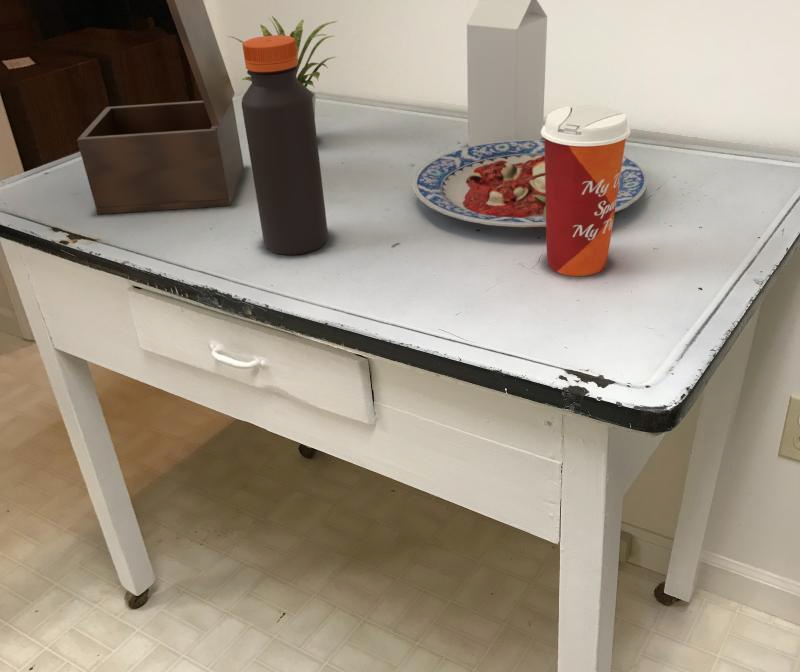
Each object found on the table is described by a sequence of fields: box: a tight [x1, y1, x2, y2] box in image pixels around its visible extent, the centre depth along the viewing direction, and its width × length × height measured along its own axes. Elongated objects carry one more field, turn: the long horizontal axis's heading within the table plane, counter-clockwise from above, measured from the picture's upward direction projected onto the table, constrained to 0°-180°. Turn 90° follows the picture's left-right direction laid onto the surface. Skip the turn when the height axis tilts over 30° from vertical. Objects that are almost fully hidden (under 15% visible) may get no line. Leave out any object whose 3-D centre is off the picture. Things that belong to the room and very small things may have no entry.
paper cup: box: [541, 104, 631, 277], centre depth 78 cm, size 8×8×14 cm
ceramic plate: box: [412, 139, 648, 228], centre depth 96 cm, size 26×26×3 cm
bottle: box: [241, 34, 329, 256], centre depth 84 cm, size 7×7×20 cm
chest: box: [76, 98, 245, 215], centre depth 102 cm, size 16×13×9 cm
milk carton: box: [466, 0, 548, 147], centre depth 106 cm, size 7×7×19 cm
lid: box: [166, 0, 236, 127], centre depth 94 cm, size 16×13×5 cm
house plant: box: [227, 15, 338, 118], centre depth 112 cm, size 14×14×16 cm
